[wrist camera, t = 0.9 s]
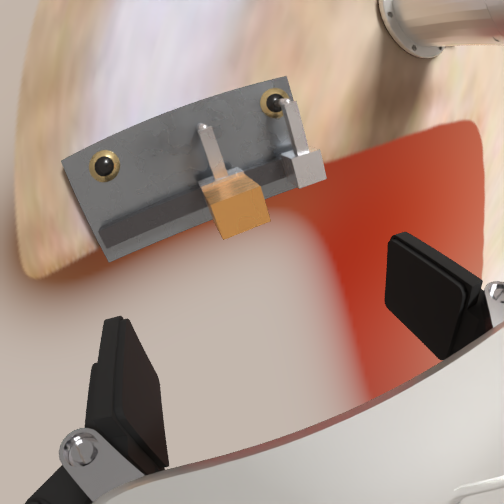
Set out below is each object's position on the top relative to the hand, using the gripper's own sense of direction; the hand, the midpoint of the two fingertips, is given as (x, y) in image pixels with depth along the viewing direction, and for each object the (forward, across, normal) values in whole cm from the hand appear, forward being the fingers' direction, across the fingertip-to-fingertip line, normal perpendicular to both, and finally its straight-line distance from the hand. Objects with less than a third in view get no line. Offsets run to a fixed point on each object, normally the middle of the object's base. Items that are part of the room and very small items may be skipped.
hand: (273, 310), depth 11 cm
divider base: (+25, 0, -1) cm, 25 cm away
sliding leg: (+23, -2, -1) cm, 23 cm away
